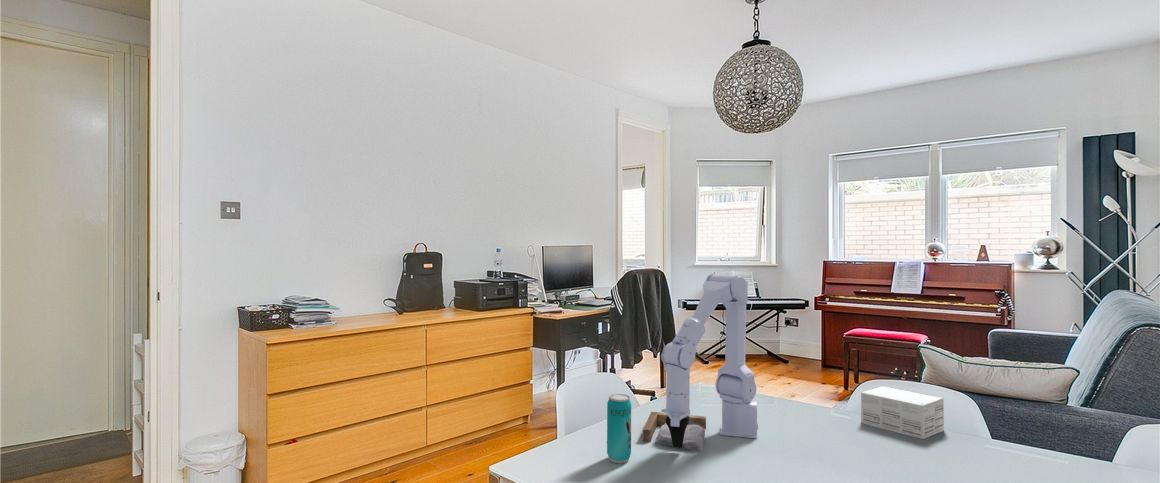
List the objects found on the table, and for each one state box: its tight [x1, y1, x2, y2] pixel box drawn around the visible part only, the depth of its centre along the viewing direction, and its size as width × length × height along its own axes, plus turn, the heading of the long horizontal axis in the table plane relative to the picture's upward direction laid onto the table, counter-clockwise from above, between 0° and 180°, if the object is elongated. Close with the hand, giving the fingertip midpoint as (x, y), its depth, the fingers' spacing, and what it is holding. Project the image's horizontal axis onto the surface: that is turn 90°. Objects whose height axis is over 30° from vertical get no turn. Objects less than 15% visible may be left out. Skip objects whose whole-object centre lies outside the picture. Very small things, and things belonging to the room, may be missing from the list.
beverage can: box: [606, 393, 632, 464], centre depth 129 cm, size 6×6×15 cm
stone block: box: [657, 424, 706, 451], centre depth 141 cm, size 12×5×10 cm
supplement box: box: [860, 385, 945, 440], centre depth 155 cm, size 17×13×9 cm
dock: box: [642, 411, 707, 443], centre depth 147 cm, size 16×16×3 cm
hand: (677, 446), depth 134 cm, fingers closed
